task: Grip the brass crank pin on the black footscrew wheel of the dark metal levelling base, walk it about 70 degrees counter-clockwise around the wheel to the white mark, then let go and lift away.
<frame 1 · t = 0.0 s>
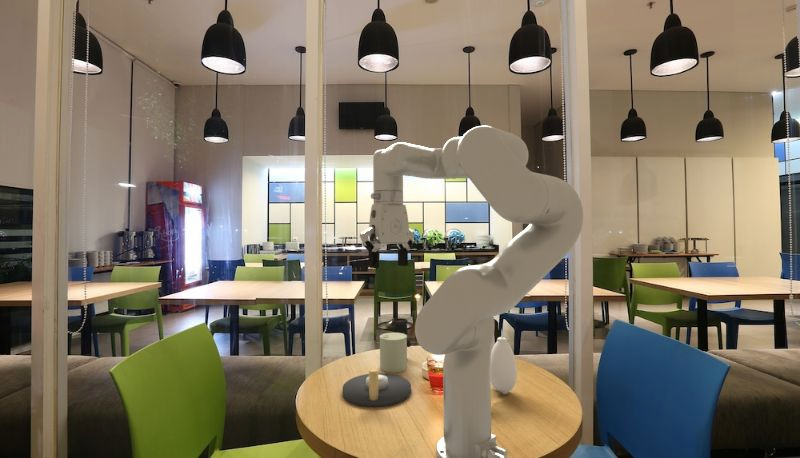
hand: (388, 266, 94), 37 cm above the table, tool pointing down, fingers open, 9 cm apart
footscrew wheel: (376, 375, 103), point 6 cm above the table, hinge at 0.0°
can: (393, 371, 122), on the table
levelling base: (377, 396, 103), on the table
sauce bottle: (502, 393, 104), on the table
scope: (397, 358, 135), on the table
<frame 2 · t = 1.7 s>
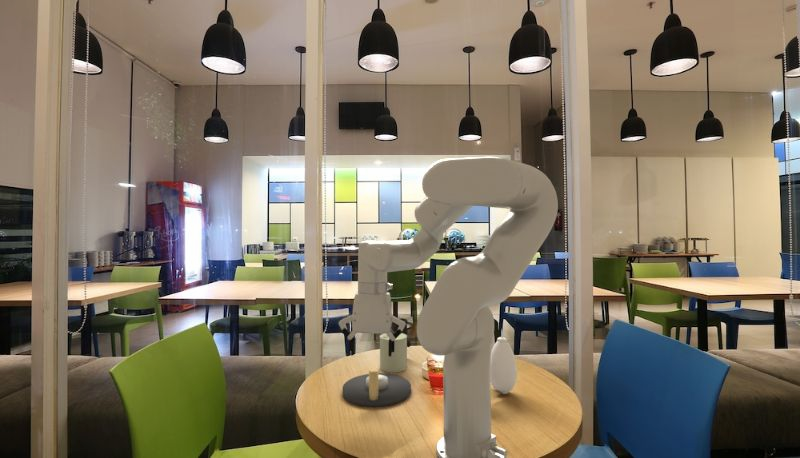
hand: (371, 354, 96), 14 cm above the table, tool pointing down, fingers open, 9 cm apart
nothing on the table moved.
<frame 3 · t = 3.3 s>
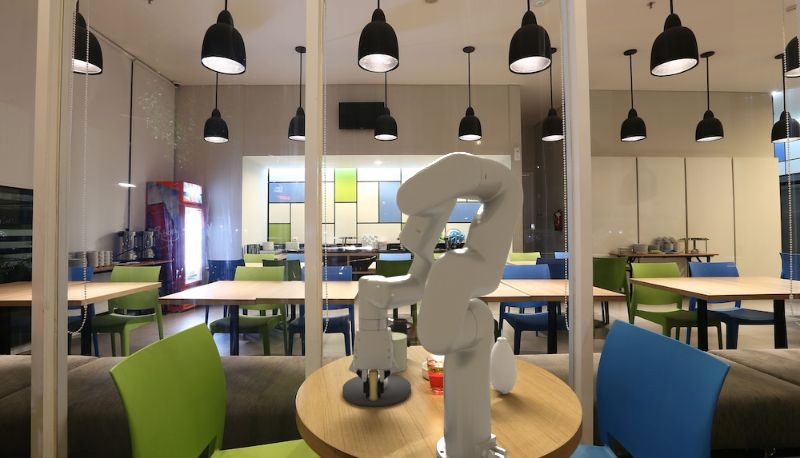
hand: (373, 395, 95), 4 cm above the table, tool pointing down, fingers closed on footscrew wheel, 2 cm apart
footscrew wheel: (376, 375, 103), point 6 cm above the table, hinge at 0.0°, touching gripper
everything else where it was.
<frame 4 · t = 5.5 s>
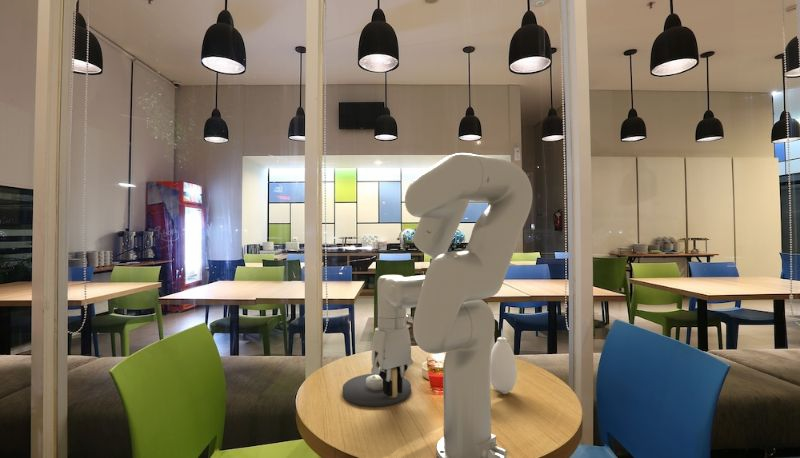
hand: (392, 392, 97), 4 cm above the table, tool pointing down, fingers closed on footscrew wheel, 2 cm apart
footscrew wheel: (376, 375, 103), point 6 cm above the table, hinge at 36.8°, touching gripper
everything else where it was.
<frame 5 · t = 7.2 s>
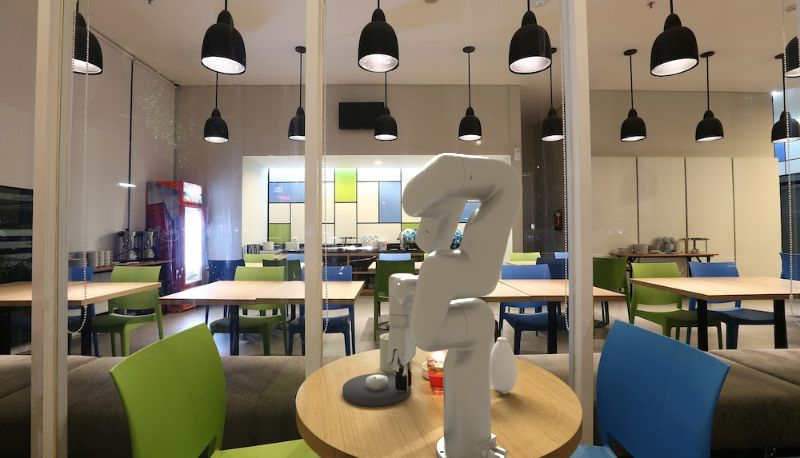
hand: (403, 387, 100), 4 cm above the table, tool pointing down, fingers closed on footscrew wheel, 2 cm apart
footscrew wheel: (376, 375, 103), point 6 cm above the table, hinge at 69.0°, touching gripper
everything else where it was.
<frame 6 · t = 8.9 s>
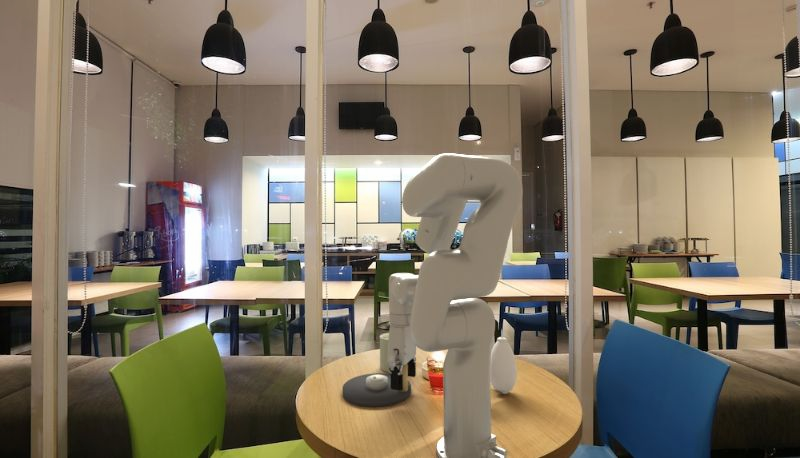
hand: (403, 382, 100), 5 cm above the table, tool pointing down, fingers open, 9 cm apart
footscrew wheel: (376, 375, 103), point 6 cm above the table, hinge at 69.2°
everything else where it was.
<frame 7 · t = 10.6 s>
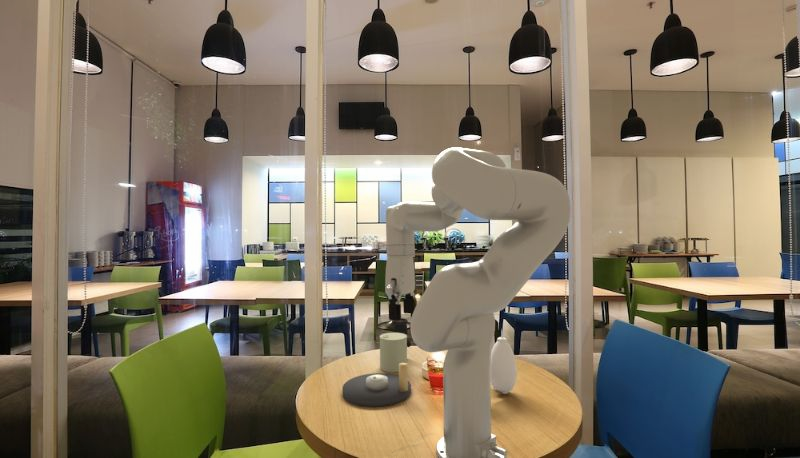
hand: (402, 316, 98), 23 cm above the table, tool pointing down, fingers open, 9 cm apart
nothing on the table moved.
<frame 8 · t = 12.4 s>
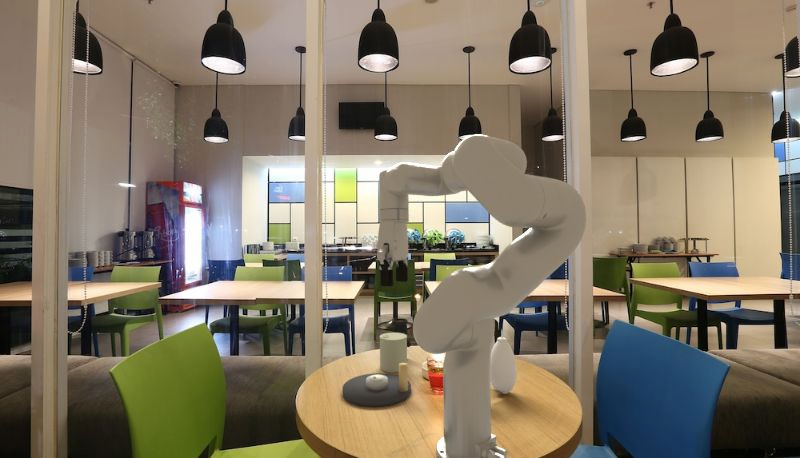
hand: (394, 283, 95), 32 cm above the table, tool pointing down, fingers open, 9 cm apart
nothing on the table moved.
at the end: footscrew wheel at +69° (first picture: +0°); the gripper is holding nothing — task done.
